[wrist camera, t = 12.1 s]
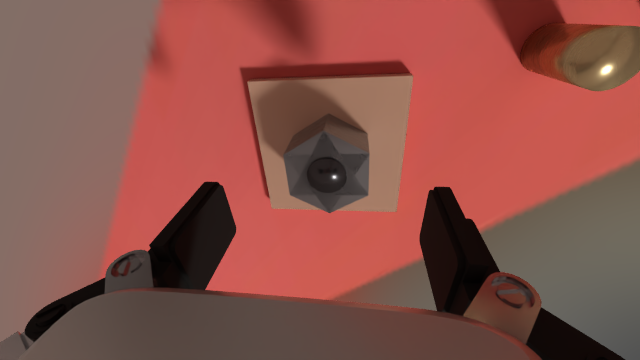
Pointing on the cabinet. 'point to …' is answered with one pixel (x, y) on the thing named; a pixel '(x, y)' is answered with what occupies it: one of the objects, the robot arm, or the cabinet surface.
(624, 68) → the brass standoffs
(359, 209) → the tan tile
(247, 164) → the cabinet surface
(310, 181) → the steel nut
